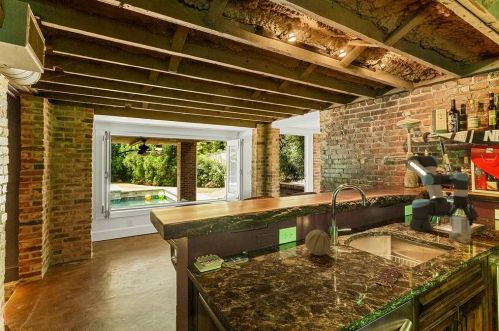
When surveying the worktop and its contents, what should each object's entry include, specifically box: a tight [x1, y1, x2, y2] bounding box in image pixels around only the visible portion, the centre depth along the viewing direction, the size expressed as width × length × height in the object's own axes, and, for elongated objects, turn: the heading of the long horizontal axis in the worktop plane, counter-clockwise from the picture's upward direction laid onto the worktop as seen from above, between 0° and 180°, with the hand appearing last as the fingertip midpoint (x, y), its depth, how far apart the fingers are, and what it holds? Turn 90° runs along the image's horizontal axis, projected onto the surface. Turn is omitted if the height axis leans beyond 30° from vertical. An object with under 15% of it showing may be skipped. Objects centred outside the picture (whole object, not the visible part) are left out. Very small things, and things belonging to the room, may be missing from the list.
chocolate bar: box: [374, 266, 402, 285], centre depth 119 cm, size 7×19×2 cm, turn 138°
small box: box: [451, 215, 470, 234], centre depth 170 cm, size 8×6×10 cm
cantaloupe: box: [304, 229, 332, 256], centre depth 149 cm, size 15×15×15 cm
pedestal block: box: [448, 230, 472, 244], centre depth 170 cm, size 9×9×6 cm
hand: (459, 228), depth 170 cm, fingers open, 10 cm apart
